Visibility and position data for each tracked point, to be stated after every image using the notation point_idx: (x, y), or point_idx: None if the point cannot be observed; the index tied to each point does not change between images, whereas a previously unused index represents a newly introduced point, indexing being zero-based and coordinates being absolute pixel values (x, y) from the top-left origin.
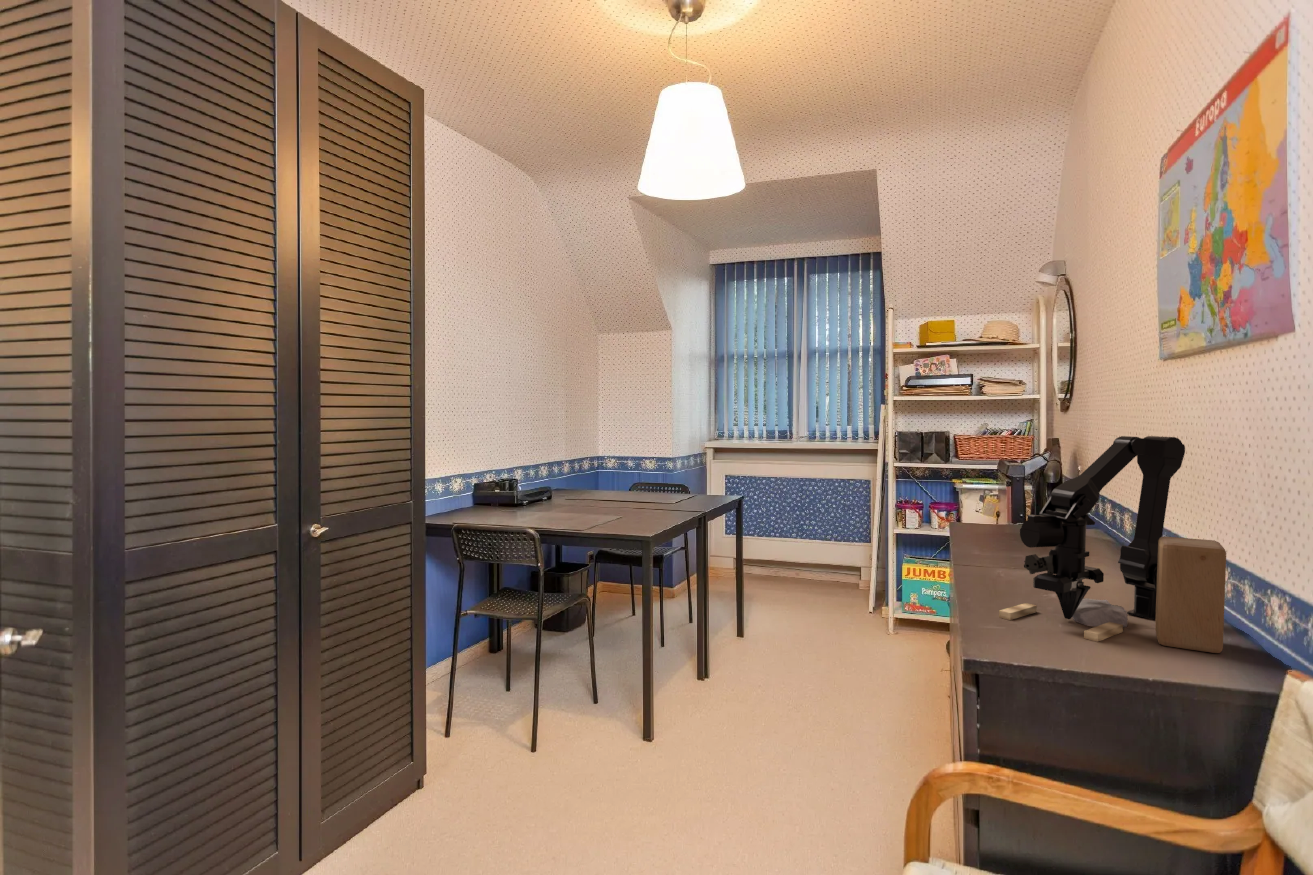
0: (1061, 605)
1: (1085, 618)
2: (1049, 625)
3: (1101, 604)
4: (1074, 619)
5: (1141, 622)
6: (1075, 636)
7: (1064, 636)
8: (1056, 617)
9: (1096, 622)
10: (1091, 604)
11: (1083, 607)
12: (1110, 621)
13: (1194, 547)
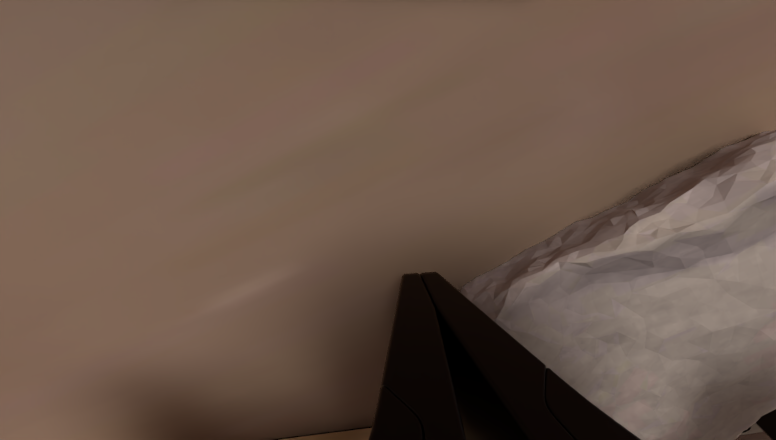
0: (385, 366)
1: None
2: (151, 257)
3: (697, 432)
4: (464, 293)
5: None
6: (107, 432)
7: (21, 417)
8: (470, 163)
9: None
10: (692, 389)
11: (609, 364)
12: None
13: None
